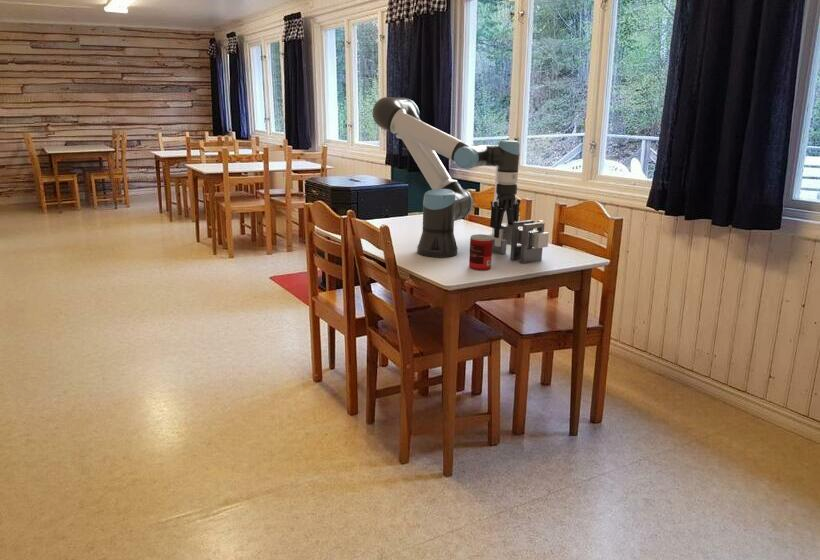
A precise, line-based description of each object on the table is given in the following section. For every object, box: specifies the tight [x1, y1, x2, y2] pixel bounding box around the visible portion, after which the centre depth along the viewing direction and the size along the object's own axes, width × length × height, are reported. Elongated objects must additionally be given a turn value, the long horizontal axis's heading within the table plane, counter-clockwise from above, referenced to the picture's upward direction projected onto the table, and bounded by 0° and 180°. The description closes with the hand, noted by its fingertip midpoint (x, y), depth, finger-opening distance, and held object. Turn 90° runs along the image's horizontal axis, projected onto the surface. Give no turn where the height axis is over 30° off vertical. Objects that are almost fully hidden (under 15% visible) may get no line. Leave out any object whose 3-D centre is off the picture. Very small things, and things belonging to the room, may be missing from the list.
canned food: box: [468, 234, 493, 271], centre depth 212 cm, size 8×8×11 cm
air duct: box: [494, 223, 549, 249], centre depth 226 cm, size 22×5×5 cm, turn 36°
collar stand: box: [509, 219, 546, 265], centre depth 224 cm, size 12×7×14 cm, turn 126°
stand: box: [492, 236, 508, 255], centre depth 238 cm, size 2×11×5 cm, turn 36°
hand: (503, 245), depth 234 cm, fingers closed on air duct, 5 cm apart
